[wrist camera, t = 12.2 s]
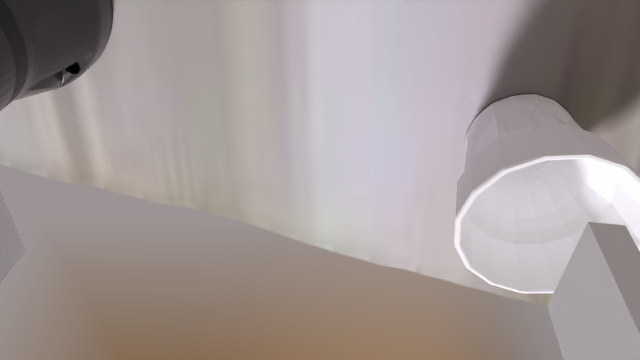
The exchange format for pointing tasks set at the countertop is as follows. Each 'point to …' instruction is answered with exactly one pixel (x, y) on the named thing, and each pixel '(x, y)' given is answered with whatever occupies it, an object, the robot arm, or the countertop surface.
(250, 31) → the countertop surface
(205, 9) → the countertop surface
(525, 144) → the cup
